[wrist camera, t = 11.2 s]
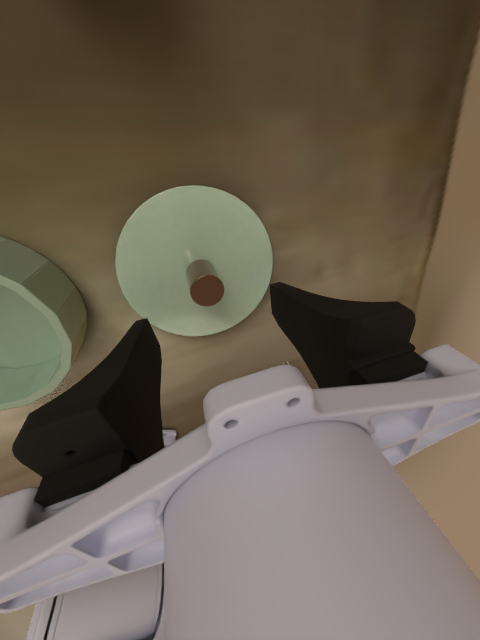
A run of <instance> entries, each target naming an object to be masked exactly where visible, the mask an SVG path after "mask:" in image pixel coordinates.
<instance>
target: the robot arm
mask: <svg viewBox="0 0 480 640" xmlns="http://www.w3.org/2000/svg"><path fill="white" fill-rule="evenodd" d="M270 295H271V307H272V314H273V316H274V318H275V320H276V322H277V323H278V325H279V327H280V328H281V329H282V331H283V332H284V333H285V335H286V336H287V337H288V339H289V340H290V341H291V342H292V344H293V345H294V346H295V348H296V349H297V350H298V352H299V353H300V355H301V356H302V358H303V360H304V361H305V363H306V365H307V366H308V368H309V370H310V372H311V373H312V375H313V377H314V379H315V380H316V382H317V384H318V386H319V388H320V389H311V387H310V386H309V384H308V383H307V381H306V380H305V378H304V377H303V375H302V374H301V372H300V371H299V369H298V368H296V367H294V366H291V365H280V366H274V367H271V368H268V369H265V370H262V371H259V372H256V373H253V374H250V375H247V376H243V377H240V378H237V379H234V380H231V381H228V382H225V383H222V384H220V385H218V386H216V387H214V388H213V389H211V390H210V391H209V392H208V394H207V395H206V396H205V397H204V399H203V411H204V417H205V422H206V423H205V424H203V425H201V426H200V427H198V428H196V429H195V430H193V431H191V432H190V433H188V434H186V435H185V436H183V437H181V438H180V439H178V440H176V441H175V437H176V430H162V420H161V407H160V384H161V364H162V359H161V350H160V345H159V342H158V340H157V338H156V336H155V334H154V332H153V329H152V327H151V325H150V323H149V321H148V319H147V318H145V319H142V320H138V321H136V322H135V323H134V324H133V325H132V327H131V328H130V329H129V330H128V332H127V333H126V334H125V336H124V337H123V338H122V340H121V341H120V342H119V343H118V345H117V346H116V347H115V348H114V349H113V350H112V351H111V353H110V354H109V355H108V356H107V357H106V358H105V359H104V360H103V361H102V362H101V363H100V364H99V365H98V366H97V367H96V368H95V369H94V370H93V371H91V372H90V373H89V374H88V375H86V376H85V377H84V378H83V379H82V380H80V381H79V382H78V383H77V384H75V385H74V386H72V387H71V388H70V389H68V390H67V391H65V392H64V393H62V394H61V395H60V396H58V397H56V398H55V399H53V400H52V401H50V402H48V403H47V404H45V405H43V406H42V407H40V408H38V409H37V410H35V411H33V412H32V413H30V414H29V415H28V417H27V419H26V421H25V423H24V425H23V426H22V428H21V430H20V432H19V434H18V436H17V438H16V440H15V441H14V443H13V448H12V451H13V454H14V456H15V457H16V458H17V459H18V460H19V461H20V462H21V463H22V464H24V465H25V466H27V467H28V468H30V469H31V470H33V471H34V472H36V473H37V474H39V475H40V476H42V477H43V478H42V480H41V483H40V486H39V488H38V487H29V488H25V489H22V490H19V491H16V492H13V493H10V494H7V495H4V496H1V497H0V613H11V612H14V611H16V610H19V609H21V608H24V607H27V606H29V605H32V604H34V603H36V605H35V608H34V612H33V615H32V619H31V622H30V626H29V629H28V633H27V636H26V640H480V581H479V579H478V578H477V577H476V575H475V574H474V573H473V571H472V570H471V569H470V567H469V566H468V565H467V564H466V562H465V561H464V560H463V558H462V557H461V556H460V554H459V553H458V552H457V550H456V549H455V548H454V547H453V545H452V544H451V543H450V541H449V540H448V539H447V537H446V536H445V535H444V534H443V532H442V531H441V529H440V528H439V527H438V526H437V525H436V523H435V522H434V520H433V519H432V518H431V516H430V515H429V514H428V512H427V511H426V510H425V509H424V507H423V506H422V505H421V503H420V502H419V501H418V499H417V498H416V497H415V495H414V494H413V493H412V492H411V490H410V489H409V488H408V486H407V485H406V484H405V482H404V481H403V480H402V478H401V477H400V476H399V475H398V473H397V472H396V471H395V469H394V468H393V466H394V465H396V464H398V463H400V462H402V461H403V460H405V459H407V458H409V457H411V456H412V455H414V454H416V453H418V452H420V451H421V450H423V449H425V448H427V447H429V446H431V445H433V444H434V443H436V442H438V441H440V440H442V439H444V438H446V437H448V436H450V435H452V434H454V433H456V432H458V431H460V430H462V429H465V428H467V427H469V426H472V425H474V424H476V423H479V422H480V365H479V364H478V363H476V362H475V361H473V360H471V359H470V358H468V357H467V356H465V355H463V354H462V353H460V352H458V351H457V350H456V349H454V348H452V347H451V346H449V345H448V344H444V345H441V346H438V347H435V348H432V349H429V350H426V351H424V352H423V353H422V354H421V355H418V354H417V353H416V352H414V350H415V346H414V345H412V344H411V343H410V342H409V341H410V338H411V335H412V332H413V329H414V326H415V314H414V312H413V311H412V310H411V309H409V308H407V307H406V306H404V305H402V304H401V303H399V302H359V301H348V300H340V299H334V298H329V297H324V296H320V295H317V294H313V293H310V292H307V291H304V290H301V289H298V288H295V287H293V286H290V285H287V284H284V283H281V282H278V283H274V284H271V285H270Z"/></svg>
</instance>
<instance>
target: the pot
mask: <svg viewBox="0 0 480 640" xmlns="http://www.w3.org/2000/svg"><path fill="white" fill-rule="evenodd" d="M86 328H87V311H86V307H85V304H84V301H83V299H82V297H81V295H80V293H79V291H78V289H77V288H76V287H75V285H74V284H73V282H72V281H71V280H70V279H69V278H68V277H67V276H66V274H65V273H64V272H62V271H61V270H60V269H59V268H58V267H57V266H56V265H55V264H53V263H52V262H50V261H49V260H48V259H46V258H45V257H43V256H42V255H40V254H38V253H37V252H35V251H33V250H32V249H30V248H28V247H26V246H23V245H21V244H19V243H17V242H14V241H12V240H9V239H7V238H4V237H1V236H0V411H1V410H6V409H11V408H16V407H20V406H25V405H29V404H30V403H32V402H34V401H36V400H38V399H40V398H42V397H43V396H45V395H47V394H49V393H51V392H53V391H54V390H56V388H57V387H58V386H59V384H60V383H61V382H62V380H63V379H64V378H65V376H66V375H67V374H68V372H69V371H70V370H71V367H72V365H73V363H74V361H75V359H76V356H77V354H78V352H79V350H80V347H81V345H82V343H83V341H84V338H85V333H86Z"/></svg>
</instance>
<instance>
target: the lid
mask: <svg viewBox="0 0 480 640" xmlns="http://www.w3.org/2000/svg"><path fill="white" fill-rule="evenodd" d="M115 266H116V275H117V279H118V283H119V285H120V288H121V290H122V293H123V295H124V296H125V298H126V300H127V301H128V303H129V304H130V305H131V307H132V308H133V309H134V310H135V311H136V312H137V313H138V314H139V315H140V316H141V317H142V318H143V319H145V318H147V319H148V321H149V323H150V324H152V325H153V326H155V327H157V328H159V329H161V330H164V331H166V332H170V333H173V334H177V335H182V336H205V335H211V334H215V333H218V332H221V331H224V330H226V329H229V328H231V327H233V326H234V325H236V324H238V323H239V322H241V321H242V320H243V319H245V318H246V317H247V316H248V315H249V314H250V313H251V312H252V311H253V310H254V309H255V308H256V307H257V305H258V304H259V303H260V301H261V300H262V298H263V296H264V294H265V292H266V290H267V288H268V285H269V282H270V278H271V274H272V267H273V254H272V247H271V243H270V239H269V236H268V234H267V231H266V229H265V227H264V225H263V224H262V222H261V220H260V219H259V217H258V216H257V215H256V214H255V212H254V211H253V210H252V209H251V208H250V207H249V206H248V205H247V204H245V203H244V202H243V201H241V200H240V199H238V198H237V197H235V196H233V195H231V194H229V193H228V192H226V191H223V190H220V189H217V188H214V187H208V186H203V185H186V186H178V187H174V188H170V189H167V190H164V191H162V192H160V193H158V194H156V195H154V196H152V197H151V198H149V199H148V200H146V201H145V202H144V203H142V204H141V205H140V206H139V207H138V208H137V209H136V210H135V211H134V212H133V214H132V215H131V216H130V217H129V219H128V220H127V222H126V224H125V226H124V227H123V229H122V231H121V234H120V237H119V239H118V243H117V248H116V255H115Z"/></svg>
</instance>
